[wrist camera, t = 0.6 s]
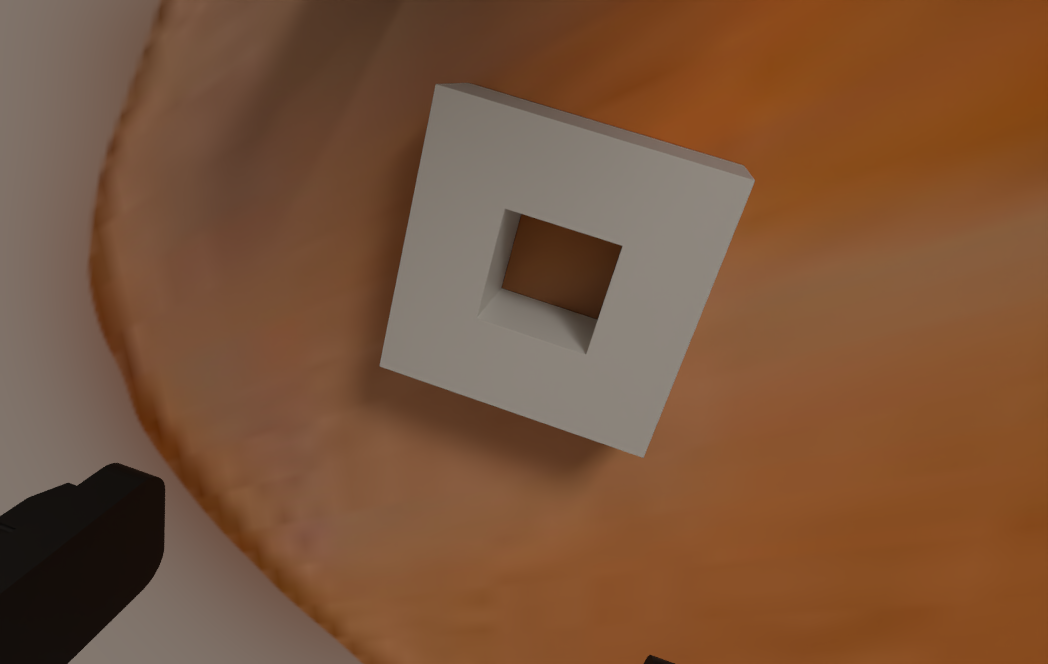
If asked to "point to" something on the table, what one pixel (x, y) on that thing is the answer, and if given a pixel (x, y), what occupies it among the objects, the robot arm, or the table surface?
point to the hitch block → (575, 203)
